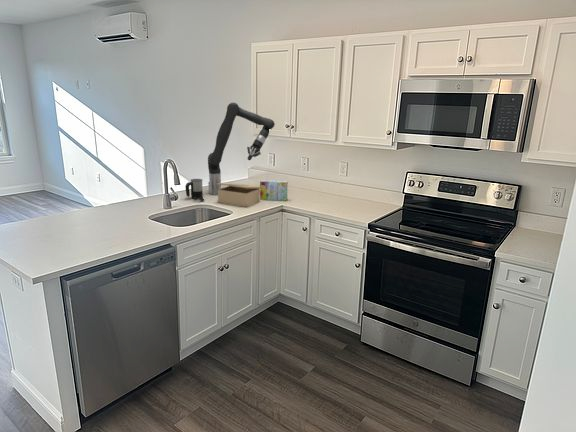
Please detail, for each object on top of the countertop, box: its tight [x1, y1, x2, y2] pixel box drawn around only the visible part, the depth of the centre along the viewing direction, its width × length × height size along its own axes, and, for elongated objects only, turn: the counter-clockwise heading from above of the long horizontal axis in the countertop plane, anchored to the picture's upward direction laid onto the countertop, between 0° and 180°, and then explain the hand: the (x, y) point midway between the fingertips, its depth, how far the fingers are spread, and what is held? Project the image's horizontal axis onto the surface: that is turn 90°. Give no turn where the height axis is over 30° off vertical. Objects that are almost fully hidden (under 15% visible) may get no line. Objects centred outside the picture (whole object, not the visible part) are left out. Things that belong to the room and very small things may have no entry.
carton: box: [217, 186, 260, 208], centre depth 296 cm, size 25×19×10 cm
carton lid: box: [217, 182, 260, 189], centre depth 294 cm, size 26×20×1 cm
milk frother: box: [184, 178, 205, 202], centre depth 300 cm, size 14×16×15 cm
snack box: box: [259, 179, 289, 202], centre depth 305 cm, size 21×6×15 cm, turn 84°
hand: (248, 159), depth 310 cm, fingers closed
